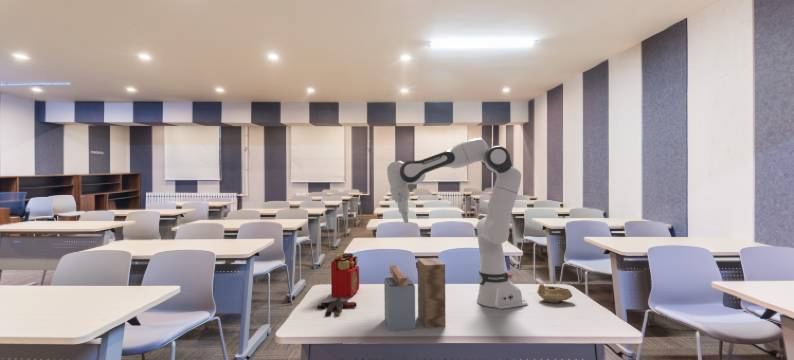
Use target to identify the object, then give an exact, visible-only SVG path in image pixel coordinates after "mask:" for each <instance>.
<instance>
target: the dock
mask: <svg viewBox="0 0 794 360" xmlns="http://www.w3.org/2000/svg"><path fill="white" fill-rule="evenodd" d="M406 277H407V286H398V284H397V283H396V281H395V279H394V278H393V276H391V277H385V278H384V282H383V283H384V284H383V285H384V291H383V292H384V321H385V323H386V326H387V328H388V331H389V332H392V331H393V332H394V331H404V330H415V329H416V285H415V284H414V282H413V281H412V280H411V279H410V277H408V276H406Z"/></svg>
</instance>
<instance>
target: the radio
mask: <svg viewBox="0 0 794 360" xmlns="http://www.w3.org/2000/svg"><path fill="white" fill-rule="evenodd" d="M358 261H359V259H358V256H354V253H343V254H342V255H341V254H337V255H335V258H334V260H332V261H331V263H330V265H331V266H330V269H331V270H330V274H331V279H330V280H331V281H330V282H331V287H330V289H331V290H330V291H331V294H330V295H331V298H332V297H333V298H334V299H335V298H337V299H338V298H344V299H345V298H346V299H347V298H349V297H353V296H354V295H355V294H356V293H357V292H358V291H359V290H360V266H359V265H357V264H358Z"/></svg>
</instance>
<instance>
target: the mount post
mask: <svg viewBox="0 0 794 360" xmlns="http://www.w3.org/2000/svg"><path fill="white" fill-rule="evenodd" d="M417 318H418V319H419V321H420V322H421V324H422V325H423V327H424V328H425V329H430V328H441V327H447V326H446V264H445V263H444V262H442V261H441V260H440V259H438V258H437V257H432V258H429V257H428V258H417Z"/></svg>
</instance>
